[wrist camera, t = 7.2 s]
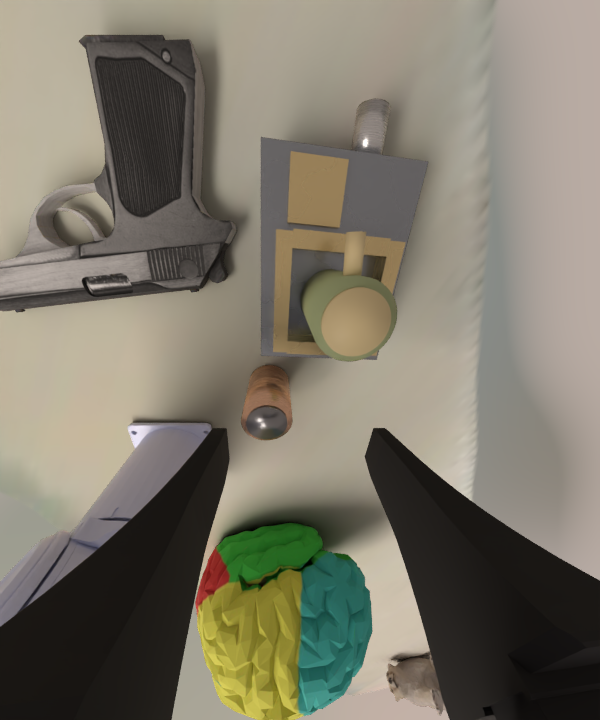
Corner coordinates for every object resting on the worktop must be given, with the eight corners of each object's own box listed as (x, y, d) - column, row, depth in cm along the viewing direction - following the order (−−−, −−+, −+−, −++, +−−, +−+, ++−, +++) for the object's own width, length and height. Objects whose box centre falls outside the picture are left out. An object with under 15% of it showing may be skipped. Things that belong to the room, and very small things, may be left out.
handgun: (-122, 88, 11) (28, 309, 17) (-198, 55, 10) (-2, 315, 15) (204, 60, 12) (248, 283, 17) (190, 25, 10) (244, 287, 15)
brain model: (349, 497, 30) (396, 695, 16) (359, 558, 38) (395, 721, 25) (191, 521, 31) (116, 721, 18) (235, 574, 40) (206, 737, 26)
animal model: (462, 759, 56) (404, 761, 61) (466, 690, 75) (421, 697, 80) (425, 669, 66) (377, 677, 70) (437, 628, 85) (399, 637, 90)
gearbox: (361, 343, 20) (384, 368, 15) (264, 339, 19) (259, 364, 14) (406, 135, 14) (469, 74, 9) (265, 112, 13) (257, 32, 8)
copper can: (288, 397, 22) (292, 441, 17) (250, 398, 21) (242, 444, 16) (288, 364, 20) (293, 402, 15) (248, 365, 20) (238, 404, 14)
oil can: (352, 326, 15) (391, 362, 10) (300, 327, 15) (311, 365, 10) (362, 240, 13) (419, 228, 8) (300, 240, 13) (314, 228, 7)
